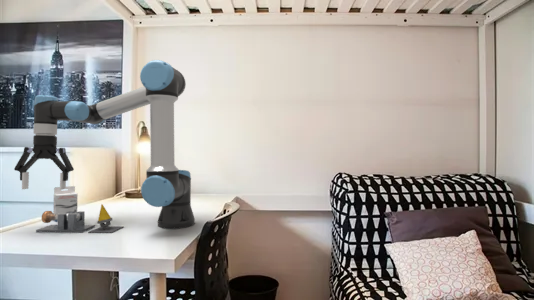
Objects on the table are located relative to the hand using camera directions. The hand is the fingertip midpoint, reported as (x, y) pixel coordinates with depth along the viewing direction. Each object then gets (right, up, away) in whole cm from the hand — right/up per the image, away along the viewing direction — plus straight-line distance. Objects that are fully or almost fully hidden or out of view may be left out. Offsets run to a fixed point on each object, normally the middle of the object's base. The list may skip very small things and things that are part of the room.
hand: (44, 189), depth 120 cm
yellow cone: (+25, -16, -1) cm, 30 cm away
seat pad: (+25, -16, -1) cm, 30 cm away
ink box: (-3, -16, +18) cm, 24 cm away
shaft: (+7, -13, 0) cm, 15 cm away
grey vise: (+9, -16, 0) cm, 18 cm away
